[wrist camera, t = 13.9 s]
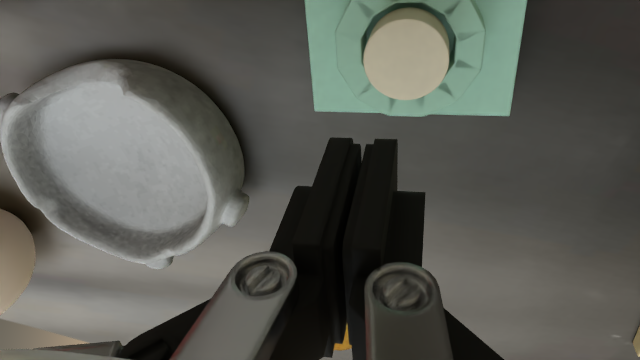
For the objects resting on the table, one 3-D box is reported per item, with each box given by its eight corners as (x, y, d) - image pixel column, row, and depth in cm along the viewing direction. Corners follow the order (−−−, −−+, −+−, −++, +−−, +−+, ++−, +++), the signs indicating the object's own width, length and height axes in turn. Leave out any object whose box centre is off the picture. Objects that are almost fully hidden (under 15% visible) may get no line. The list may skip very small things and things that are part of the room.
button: (367, 7, 22) (361, 19, 20) (452, 5, 21) (452, 17, 20) (369, 84, 24) (364, 99, 22) (446, 85, 23) (446, 101, 21)
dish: (12, 91, 33) (-48, 126, 29) (163, 1, 27) (114, 29, 23) (144, 248, 39) (109, 295, 35) (291, 201, 33) (269, 251, 29)
